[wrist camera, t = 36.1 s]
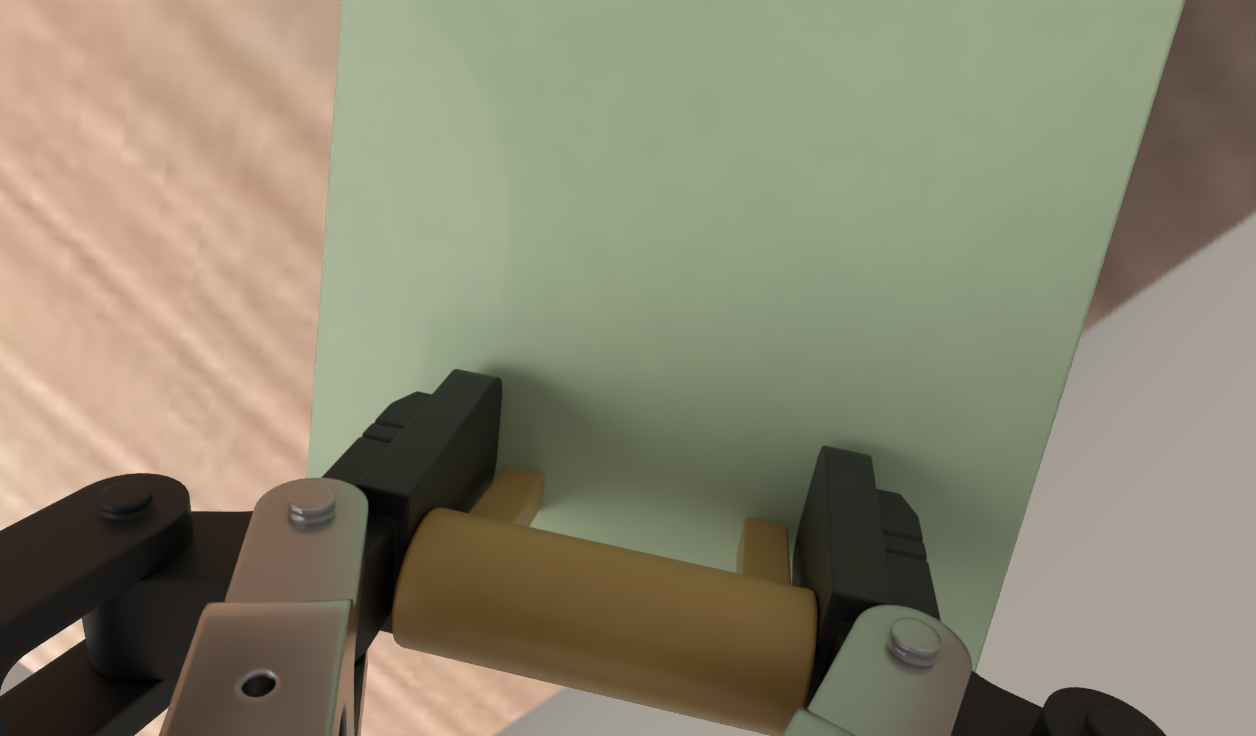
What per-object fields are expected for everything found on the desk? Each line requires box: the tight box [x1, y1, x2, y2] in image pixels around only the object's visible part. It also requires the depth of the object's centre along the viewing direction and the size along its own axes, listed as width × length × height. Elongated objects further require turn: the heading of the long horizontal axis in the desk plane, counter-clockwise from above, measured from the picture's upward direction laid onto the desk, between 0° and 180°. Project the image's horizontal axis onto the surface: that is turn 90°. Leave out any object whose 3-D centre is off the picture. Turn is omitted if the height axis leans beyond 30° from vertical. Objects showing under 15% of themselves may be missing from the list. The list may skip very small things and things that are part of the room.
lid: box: [307, 0, 1185, 736], centre depth 11 cm, size 18×12×5 cm, turn 172°
